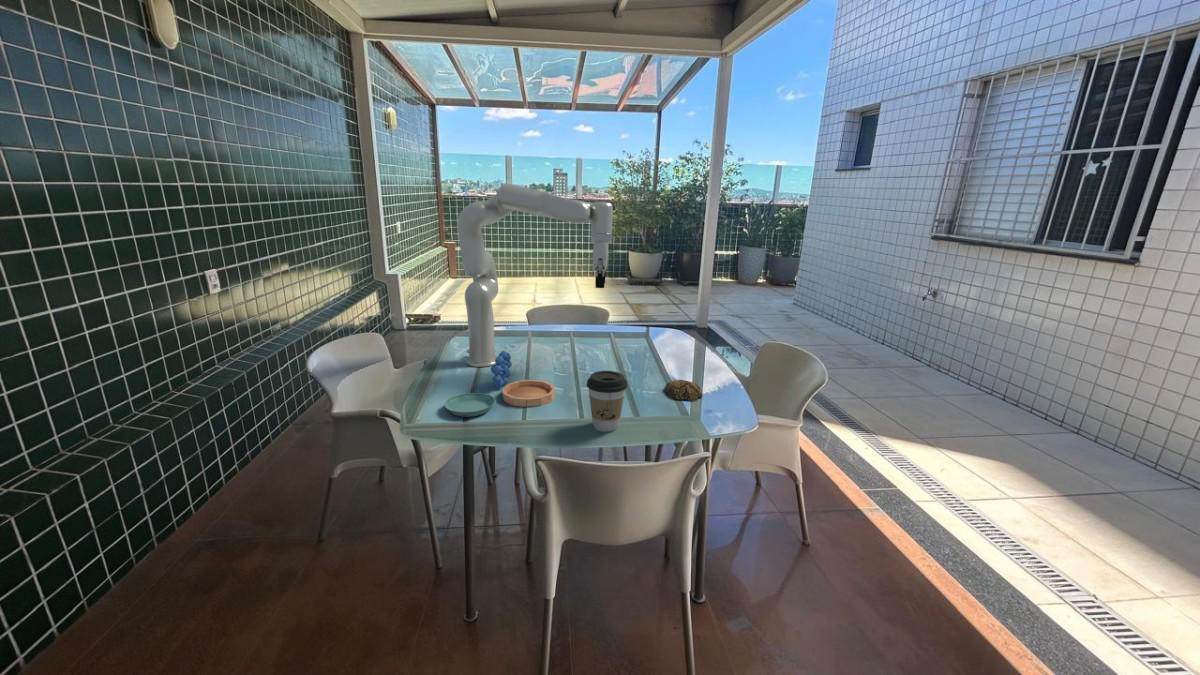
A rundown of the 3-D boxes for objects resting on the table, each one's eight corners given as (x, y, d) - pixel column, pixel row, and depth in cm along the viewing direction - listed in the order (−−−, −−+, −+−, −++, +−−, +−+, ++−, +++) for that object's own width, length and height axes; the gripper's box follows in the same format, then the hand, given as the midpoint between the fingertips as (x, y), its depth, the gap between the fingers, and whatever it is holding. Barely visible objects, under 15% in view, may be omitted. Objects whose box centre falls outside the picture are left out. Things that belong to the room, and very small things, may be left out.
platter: (492, 396, 155) (492, 388, 155) (532, 383, 167) (532, 376, 166) (525, 411, 145) (525, 403, 144) (565, 396, 156) (565, 389, 156)
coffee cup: (586, 435, 131) (587, 383, 127) (585, 417, 142) (586, 369, 138) (628, 435, 131) (630, 383, 127) (624, 417, 142) (625, 369, 138)
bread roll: (662, 387, 167) (663, 373, 166) (698, 387, 167) (699, 374, 166) (668, 402, 155) (669, 387, 153) (706, 402, 155) (708, 388, 154)
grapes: (498, 378, 170) (497, 346, 167) (516, 380, 169) (515, 348, 166) (483, 390, 159) (481, 356, 156) (502, 393, 158) (501, 358, 155)
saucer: (505, 405, 149) (505, 397, 148) (475, 424, 136) (474, 415, 135) (466, 397, 155) (466, 389, 154) (434, 414, 142) (433, 406, 141)
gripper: (592, 236, 181) (591, 281, 186) (589, 239, 165) (588, 289, 169) (612, 236, 181) (611, 282, 186) (611, 240, 164) (610, 290, 169)
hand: (600, 285), depth 177 cm, fingers open, 9 cm apart
